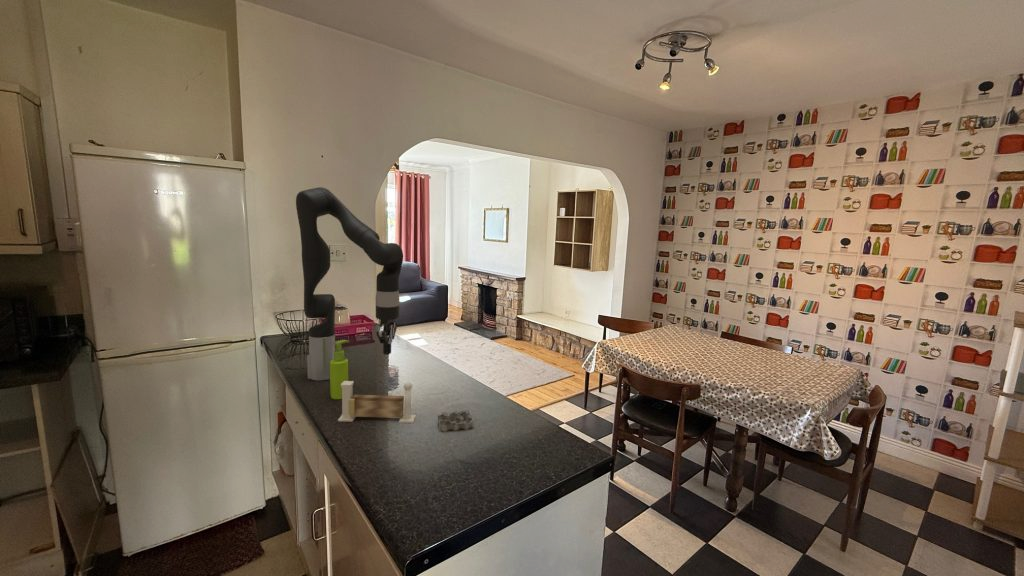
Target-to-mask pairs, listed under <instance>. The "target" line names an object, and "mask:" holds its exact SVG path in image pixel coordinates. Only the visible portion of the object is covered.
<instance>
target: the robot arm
mask: <svg viewBox="0 0 1024 576" xmlns="http://www.w3.org/2000/svg"><path fill="white" fill-rule="evenodd" d="M295 208H296V213H297V214H296V216H297V220H298V226H299V231H300V232H299V233H300V244H301V264H302V275H303V311H304V315H305V317H306V318H308V319H324V320H323V321H322V322H320V323H318V324H315V325H312V326H311V327H310V328H309V329H308V344H309V345H308V347H309V354H307V356H306V359H307V361H306V362H307V363H306V366H307V368H306V369H307V380H308V379H309V380H312V381H317V382H318V381H319V382H320V381H327V380H330V361H331V360H332V359H334V351H335V350H336V345H335V344H334V342H336V331H335V327H336V326H335V321H336V320H335V317H336V298H335V296H334V295H333V294H331V293H319V294H318V293H316V294H314V293H315V290H316V288H317V287H318V285H319V284H320V283H321V281H322V280H323V279H324V277H325V276H326V275H327V274H328V273H329V270H330V268H331V250H330V247H329V245H328V244H327V243H326V241H325V240H324V238H323V237H322V236H321V235H320V234H319V233H320V232H319V231H318V225H317V223H318V222H317V221H318V218H319V217H323V216H325V215H330V216H332V217H334V218H335V219H336V220H338V222H339V223H340V225H341V227H342V230H343V232H344V235H345V236H346V237H347V238H348V240H350V241H351V242H352V243H354V244H355V245H356V246H358V247H359V248H361V249H362V250H363V252H364V253H365V254H366V256H368V258H369V259H370V260H371V261H372V262H373V263H375V264H376V265H378V266H381V267H382V270H381V272H379V273H378V274H377V276H376V278H375V279H376V286H375V287H376V291H375V318H376V319H378V320H379V321H380V322H379V330H377V331H376V336H377V338H378V341H379V343H380V344H382V346H383V349H382V350H383V351H382V352H383V353H382V354H383V355H390V354H392V343H393V340H395V336H396V332H397V329H398V323H397V322H395V320H397V319H399V317H400V293H399V292H400V290H399V287H400V286H399V284H400V283H399V281H400V279H399V278H400V275H401V271H402V266H403V263H404V253H403V252H404V251H403V249H402V247H401V245H399V244H397V243H396V242H395V243H394V242H386V243H384V242H382V241H380V239H381V238H380V236H379V234H378V233H377V232H376V231H375V230H373V228H371V227H370V226H368V225H367V224H365V222H362V221H361V220H360V219H359V218H358V217H356V216H355V214H353V213H352V212H351V211H350V210H349V208H348V207H347V206H346V205H344V203H343V202H342V201H341V200H340V199H339V198H338V197H337V196H336V195H335V194H334V193H333V192H332V191H331V190H329V189H328V188H325V187H323V186H322V187H321V186H319V187H313V188H310V189H304V190H300V191H299V192H298V193H297V195H296V196H295Z"/></svg>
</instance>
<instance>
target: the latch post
mask: <svg viewBox="0 0 1024 576" xmlns="http://www.w3.org/2000/svg"><path fill="white" fill-rule="evenodd" d="M354 384H355V382H354V380H348V381H344V382H343V383H342V384H341V387H342V399H341V403H342V404H341V407H342V408H341V412H342V413H341V415H339V416H340V417H339V418H338V419H337V422H350V423H351V422H352V423H353V422H354V420H355V419H356V417H357V416H353V415H355V399H352V397H353V396H354V394H353V387H354V386H353V385H354Z"/></svg>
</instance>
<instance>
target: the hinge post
mask: <svg viewBox="0 0 1024 576" xmlns="http://www.w3.org/2000/svg"><path fill="white" fill-rule="evenodd" d="M412 389H413V384H412V382H411V381H406V382H405V383H404V385H403V390H404V405H403V417H402V418H399V421H398V423H399V424H400V423H401V424H403V423H404V424H414V421H415V420H416V416H417V415H416V414H411V413H412Z"/></svg>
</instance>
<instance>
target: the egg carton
mask: <svg viewBox="0 0 1024 576" xmlns="http://www.w3.org/2000/svg"><path fill="white" fill-rule="evenodd" d="M436 415H437V416H436V417H437V418H436V419H437V426H438V431H442V432H448V431H450V430H453V431H458V430H460V429H463V430H465V431H466V430H469V429H470V428H472V423H473V422H474V421H473V418H472V414H471V412H470V409H466V410H459V411H458V410H455V411H448V412H447V411H441V412H439V413H438V414H436ZM465 421H466V422H465Z"/></svg>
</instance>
